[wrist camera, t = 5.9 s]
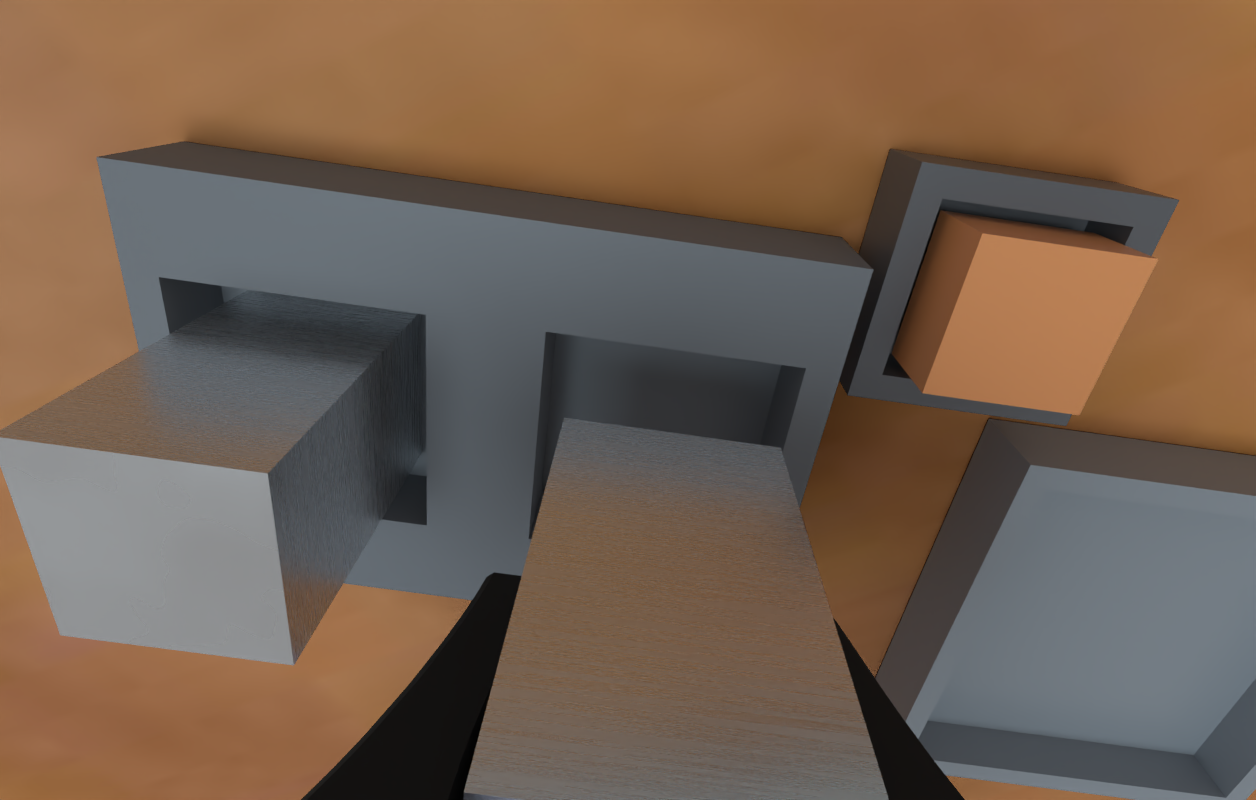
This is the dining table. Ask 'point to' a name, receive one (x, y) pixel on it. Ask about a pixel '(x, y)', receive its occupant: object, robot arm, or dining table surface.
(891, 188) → the button housing
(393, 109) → the dining table surface
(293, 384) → the block
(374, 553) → the frame
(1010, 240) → the button
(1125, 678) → the shallow grey tray
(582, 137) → the dining table surface
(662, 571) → the billet
